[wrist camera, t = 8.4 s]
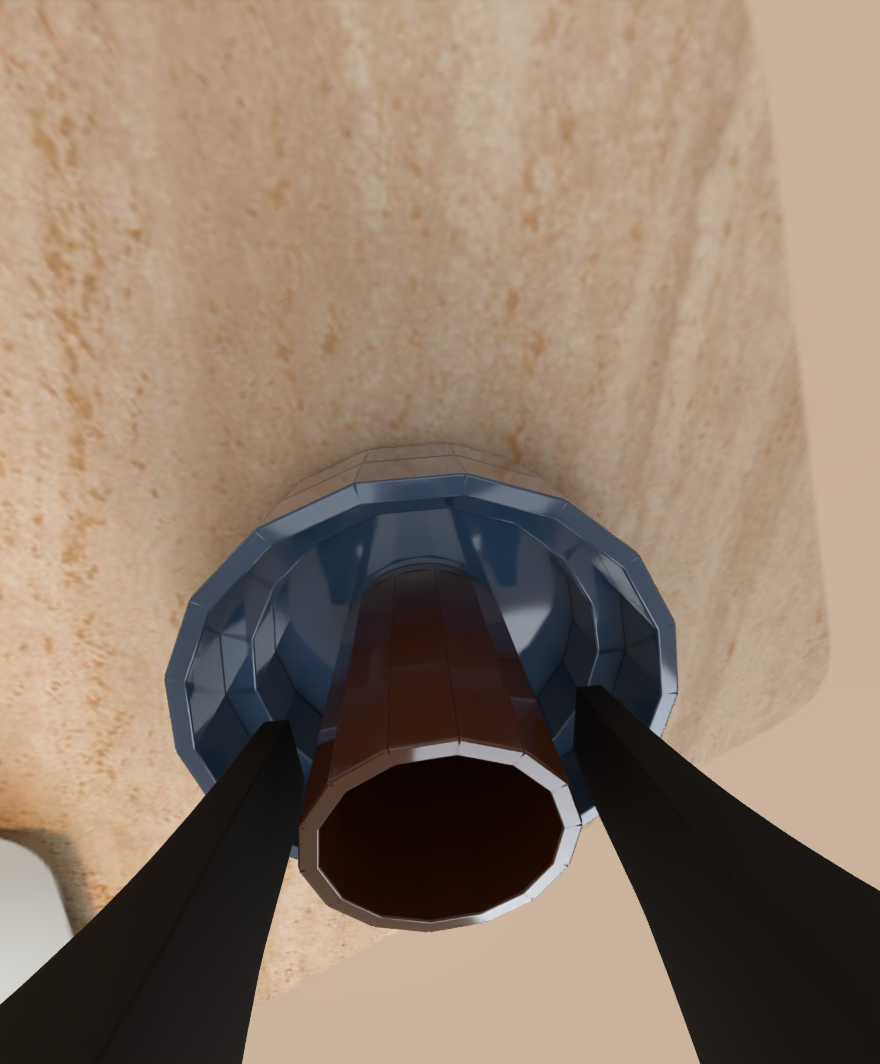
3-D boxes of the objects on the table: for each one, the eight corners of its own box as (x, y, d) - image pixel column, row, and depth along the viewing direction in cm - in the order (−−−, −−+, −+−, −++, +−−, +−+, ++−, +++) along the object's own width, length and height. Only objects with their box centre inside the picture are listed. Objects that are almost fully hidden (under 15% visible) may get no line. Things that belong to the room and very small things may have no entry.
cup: (514, 566, 14) (610, 740, 7) (489, 698, 16) (550, 928, 9) (348, 556, 13) (294, 737, 7) (344, 694, 15) (299, 938, 9)
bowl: (645, 458, 13) (754, 497, 9) (561, 760, 18) (608, 877, 14) (222, 418, 12) (124, 444, 8) (248, 757, 17) (196, 887, 12)
